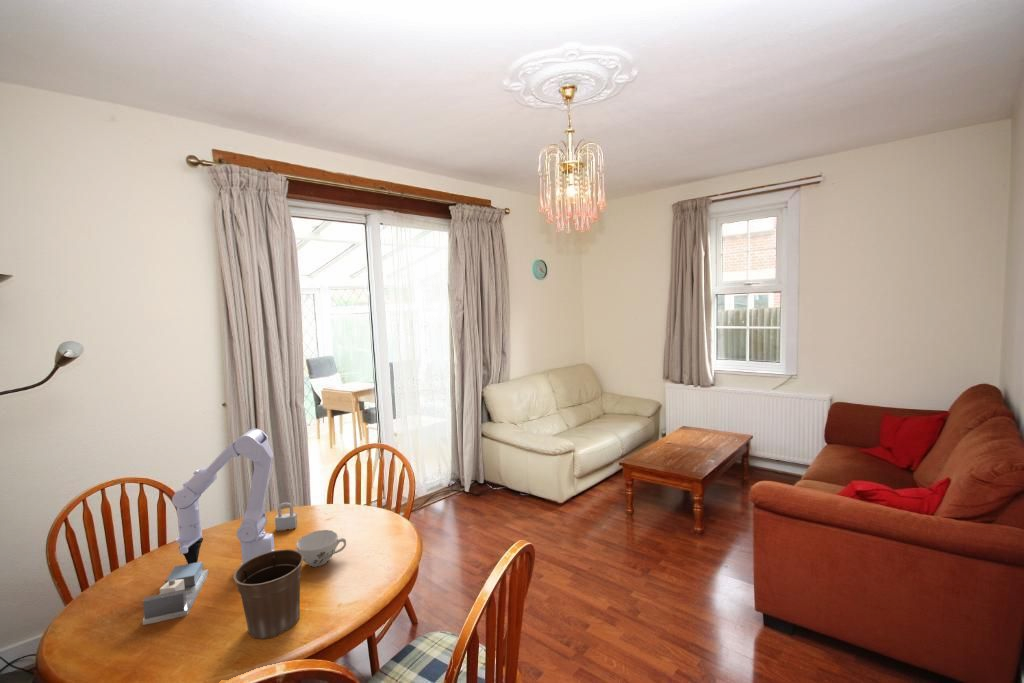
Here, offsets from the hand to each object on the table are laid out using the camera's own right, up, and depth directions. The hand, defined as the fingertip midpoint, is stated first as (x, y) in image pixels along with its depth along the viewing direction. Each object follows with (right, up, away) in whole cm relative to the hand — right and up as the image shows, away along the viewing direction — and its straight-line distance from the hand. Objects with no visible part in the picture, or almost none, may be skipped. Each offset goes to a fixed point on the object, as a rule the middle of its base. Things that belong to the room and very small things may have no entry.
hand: (193, 564), depth 146 cm
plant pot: (+39, -4, -25) cm, 47 cm away
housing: (+6, -2, -17) cm, 18 cm away
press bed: (+5, -3, -13) cm, 14 cm away
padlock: (+16, 0, +28) cm, 32 cm away
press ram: (+3, -1, -7) cm, 8 cm away
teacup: (+40, -1, +4) cm, 41 cm away
